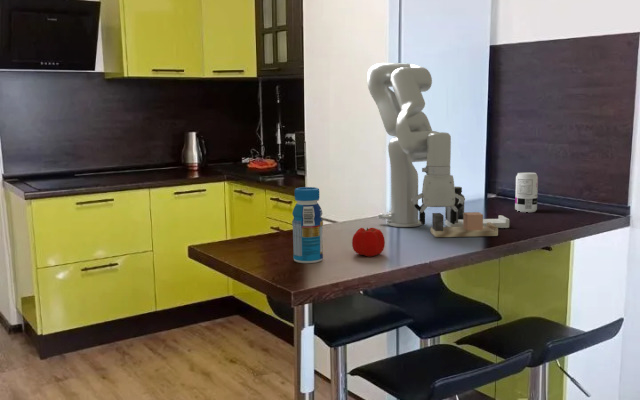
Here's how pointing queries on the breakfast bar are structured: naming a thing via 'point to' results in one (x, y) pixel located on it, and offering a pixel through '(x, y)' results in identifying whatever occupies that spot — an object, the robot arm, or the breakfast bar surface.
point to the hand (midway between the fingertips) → (437, 223)
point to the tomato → (368, 242)
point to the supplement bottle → (461, 209)
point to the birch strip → (459, 229)
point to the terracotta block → (473, 221)
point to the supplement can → (526, 192)
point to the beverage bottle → (307, 226)
